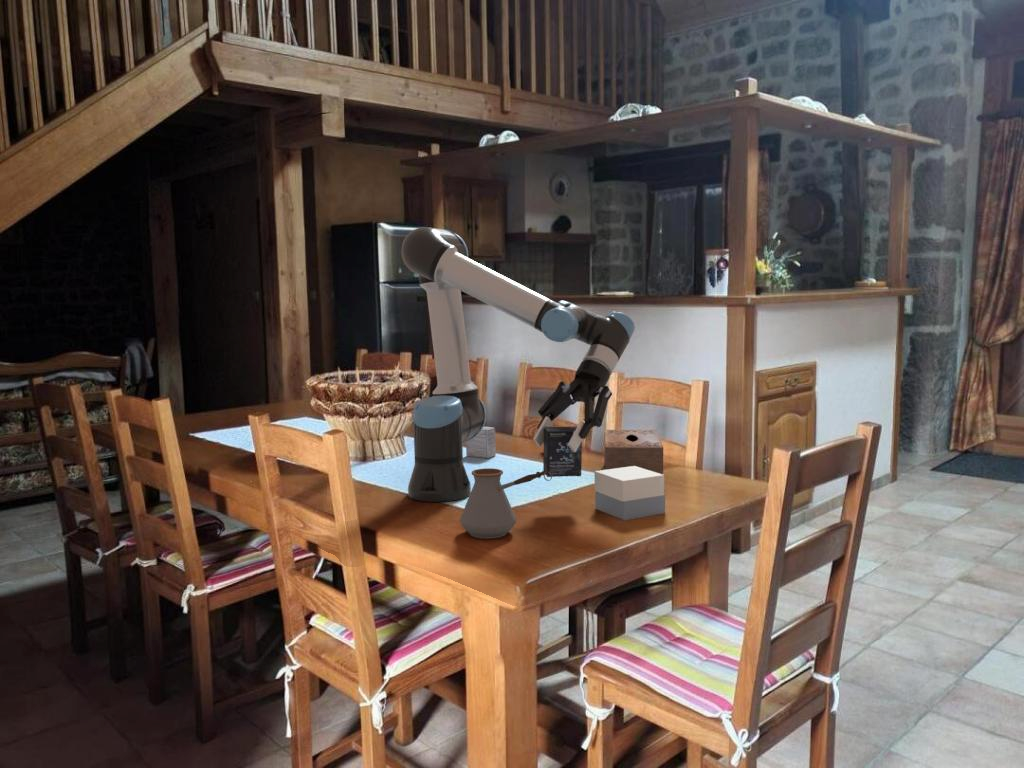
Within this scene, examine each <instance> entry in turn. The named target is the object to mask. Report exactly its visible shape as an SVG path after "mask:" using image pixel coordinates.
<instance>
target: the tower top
mask: <svg viewBox="0 0 1024 768" xmlns="http://www.w3.org/2000/svg"><path fill="white" fill-rule="evenodd" d="M595 491H596V492H599V493H602V494H604V495H607V496H610V497H612V498H615V499H617V500H620V501H623V502H624V501H630V500H636V499H643V498H649V497H656V496H662V495H665V474H664V473H663V474H659V473H656V472H653V471H650V470H646V469H643V468H640V467H637V466H630V467H622V468H615V469H607V470H605V469H602V470H601V469H600V470H595V471H594V492H595Z"/></svg>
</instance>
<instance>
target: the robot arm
mask: <svg viewBox="0 0 1024 768" xmlns="http://www.w3.org/2000/svg"><path fill="white" fill-rule="evenodd" d="M401 245H402V246H401V251H400V252H401V257H402V260H403V263H404V265H405V266H406V267H407V268H408V269H409V270H410V271H411V272H413V273H414V274H417V275H418V280H419V281H418V282H419V287H421V288H422V289H423V290H425V292H426V298H427V306H428V315H429V324H430V331H431V339H432V340H431V341H432V346H433V348H432V349H433V357H434V363H435V373H436V380H437V381H436V383H437V385H436V387H435V388H434V390H432V396H430V397H424V398H421V399H419V400H418V401H416V402H415V404H414V406H413V415H412V421H413V449H414V450H413V451H414V452H413V453H414V465H413V469H412V471H411V474H410V478H409V482H408V485H407V486H408V487H407V496H408V497H409V498H410V499H412V500H413V501H415V500H416V501H420V502H428V503H436V502H437V503H439V502H440V503H442V502H444V503H445V502H453V501H458V500H461V499H465V498H467V497H468V498H469V496H470V493H471V491H472V489H471V488H472V487H471V482H470V480H469V476H468V474H467V471H466V468H465V465H464V457H463V455H464V454H463V451H464V450H463V449H464V448H463V444H464V442H465V443H466V441H468V440H470V439H472V438H474V437H475V436H476V435H477V434H478V433H479V432H480V431H481V430H482V429H483V427H485V424H486V422H487V414H488V413H487V408H486V406H485V404H484V402H483V401H482V400H481V399H480V396H479V388H478V385H476V384H474V383H473V381H472V378H471V370H470V362H469V352H468V343H467V335H466V326H465V318H464V309H463V300H462V292H463V293H465V294H466V295H469V296H471V297H472V298H475V299H476V300H479V301H481V302H483V303H485V304H487V305H488V306H490V307H493V308H494V309H496V310H498V311H500V312H502V313H504V314H506V315H507V316H510V317H512V318H514V319H516V320H518V321H520V322H522V323H524V324H525V325H528V326H529V327H532V328H534V329H535V330H537V331H538V332H541V333H542V334H543V335H544V336H545V338H547V339H548V340H550V341H553V342H557V343H563V342H568V341H569V340H572V339H575V340H577V341H580V342H582V343H585V344H586V345H590V346H589V348H588V350H587V352H586V353H585V355H584V357H583V359H582V361H581V362H580V364H579V366H578V367H577V370H575V374H574V379H573V380H572V381H570V383H565V382H564V381H559V383H558V385H557V387H556V389H555V390H554V392H552V394H551V395H550V396H549V397H548V399H547V400H546V401H545V402H544V403H543V405H541V407H540V408H539V410H538V411H537V413H538V414H539V415H540V417H541V420H540V422H539V424H538V426H537V431H536V433H535V435H534V437H533V438H532V440H533V442H534V443H535V444H536V445H537V447H542V445H543V444H544V427H552V426H554V423H553V421H554V420H556V418H557V417H559V416H560V415H561V414H562V413H563V412H565V411H566V410H567V409H568V408H569V407H570V406H572V405H575V404H576V403H577V402H578V403H580V402H583V403H584V404H583V405H584V407H583V408H584V409H583V410H584V411H583V412H584V413H583V414H584V416H583V417H584V418H582V420H583V421H582V420H580V421H579V423H578V424H577V428H576V430H575V432H574V434H573V436H572V438H571V439H570V441H569V443H568V446H569V447H570V449H571V450H572V451H573V452H576V451H577V449H578V447H579V445H580V443H581V441H582V442H583V440H585V439H586V438H587V436H588V435H589V433H590V431H591V429H593V428H594V427H596V428H600V427H601V426H602V425H603V421H604V418H605V414H606V411H607V410H606V409H607V406H608V403H609V400H610V398H611V397H612V396H613V392H612V391H611V390H610V387H609V386H608V385H607V383H608V382H609V380H610V377H611V375H612V374H613V372H614V371H615V369H616V366H617V365H618V363H619V361H620V359H621V357H622V356H623V353H624V352H625V350H626V348H627V347H628V345H629V343H630V342H631V341H630V340H631V338H632V336H633V334H634V331H635V330H636V329H635V328H636V327H635V323H634V321H633V319H632V318H631V317H630V316H629V315H628V314H626V313H624V312H621V311H618V312H617V311H611V312H609V313H608V314H607V316H603V315H600V314H597V313H595V312H593V311H591V310H587V309H586V308H583V307H581V306H578V305H576V304H575V303H574V302H569V301H566V300H559V301H558V302H556V301H553V300H552V299H551V298H548V297H546V296H544V295H542V294H540V293H538V292H536V291H534V290H532V289H530V288H528V287H526V286H524V285H522V284H521V283H518V282H516V281H514V280H512V279H511V278H508V277H506V276H504V275H503V274H500V273H498V272H496V271H495V270H492V269H491V268H489V267H486V266H485V265H482V264H481V263H478V262H477V261H474V260H473V259H471V258H469V250H468V247H467V244H466V242H465V240H464V239H463V238H462V237H461V236H459V235H458V234H457V233H455V232H453V231H452V230H449V229H446V228H434V227H430V226H429V227H427V226H421V227H417V228H414V229H413V230H411V231H410V232H409V233H408V234H407V235H406V236H405V237H404V239H403V241H402V244H401ZM596 397H597V400H595V398H596ZM595 401H597V402H596V404H595ZM594 406H595V408H594Z"/></svg>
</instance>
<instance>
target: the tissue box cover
mask: <svg viewBox="0 0 1024 768" xmlns="http://www.w3.org/2000/svg"><path fill="white" fill-rule="evenodd" d="M603 432H604V433H603V435H604V436H603V437H604V439H603V440H604V445H603V446H604V447H603V448H604V449H603V451H604V453H603V455H604V460H603V462H604V463H603V464H604V465H603V467H604V466H605V467H604V470H607V469H615V468H622V467H630V466H637V467H640V468H643V469H646V470H650V471H653V472H656V473H659V474H663V475H664V446H663V443H662V440H661V437H660V435H659V433H658V431H657V429H604V431H603Z"/></svg>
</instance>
